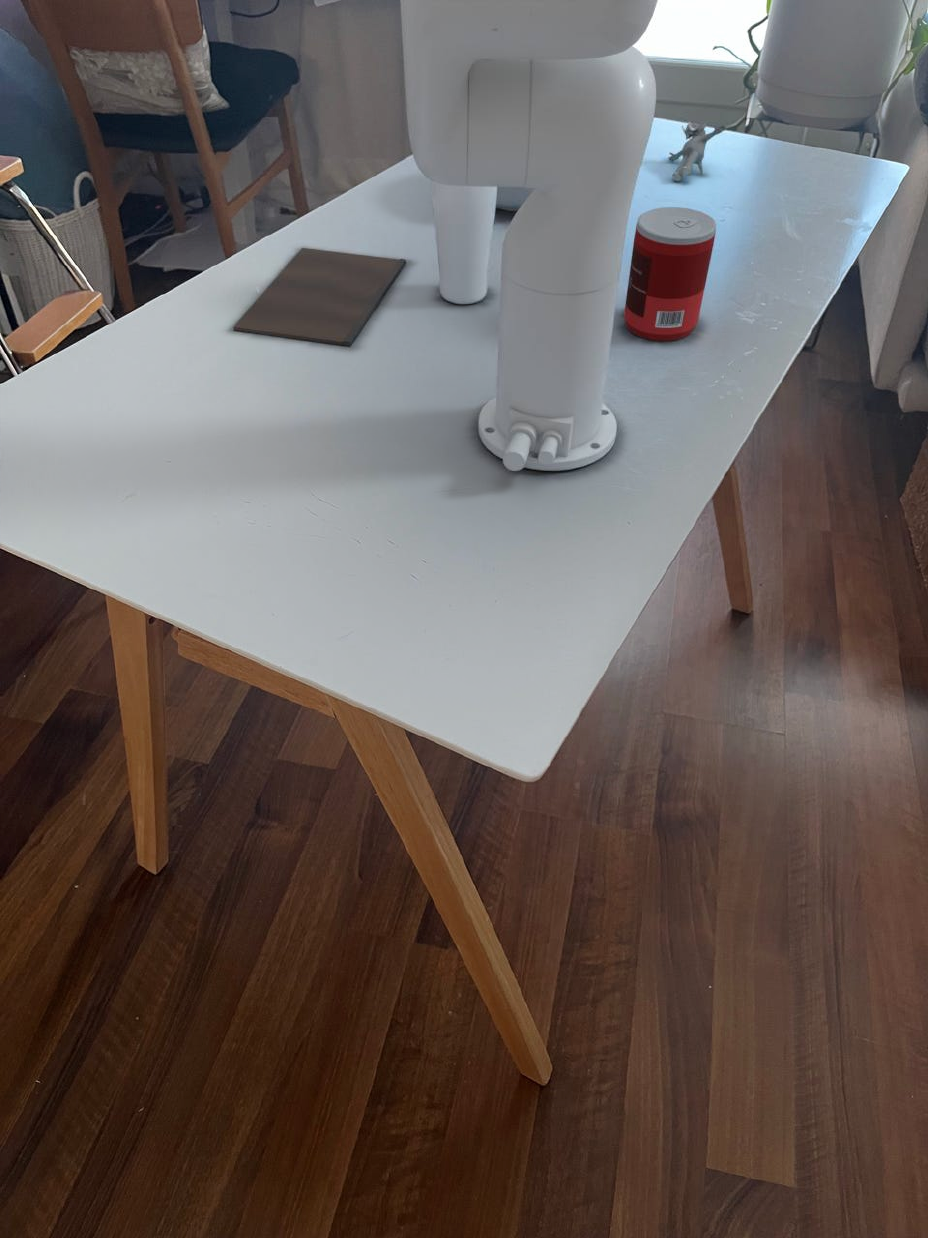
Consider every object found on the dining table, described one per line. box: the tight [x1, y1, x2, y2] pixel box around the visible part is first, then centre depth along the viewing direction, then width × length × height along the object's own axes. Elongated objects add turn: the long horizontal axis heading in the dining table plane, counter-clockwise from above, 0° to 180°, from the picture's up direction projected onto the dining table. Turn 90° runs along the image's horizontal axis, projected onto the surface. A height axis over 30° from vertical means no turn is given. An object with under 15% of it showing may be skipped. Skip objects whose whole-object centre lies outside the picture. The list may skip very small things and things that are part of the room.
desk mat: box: [232, 247, 407, 347], centre depth 104 cm, size 20×13×1 cm, turn 166°
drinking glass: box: [431, 164, 497, 305], centre depth 99 cm, size 7×7×15 cm
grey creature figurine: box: [667, 120, 727, 182], centre depth 129 cm, size 10×6×9 cm
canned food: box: [623, 206, 717, 342], centre depth 96 cm, size 8×8×11 cm
